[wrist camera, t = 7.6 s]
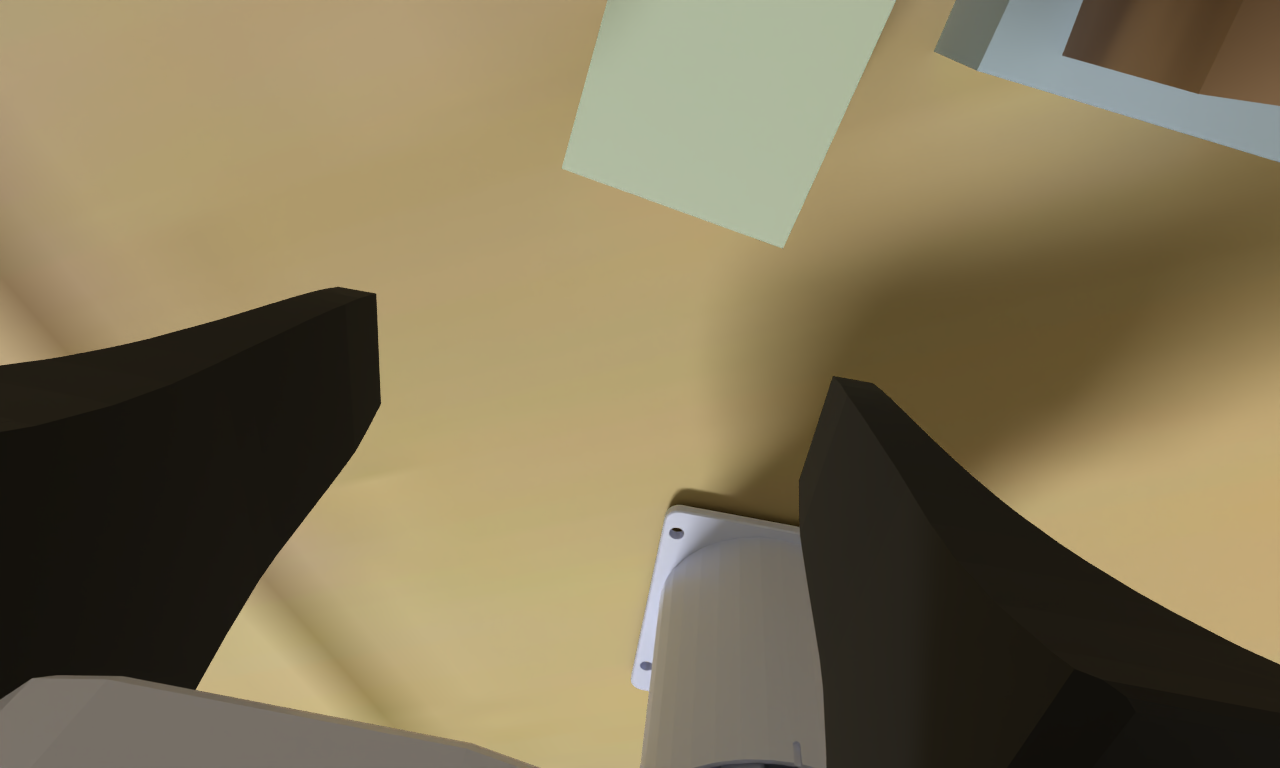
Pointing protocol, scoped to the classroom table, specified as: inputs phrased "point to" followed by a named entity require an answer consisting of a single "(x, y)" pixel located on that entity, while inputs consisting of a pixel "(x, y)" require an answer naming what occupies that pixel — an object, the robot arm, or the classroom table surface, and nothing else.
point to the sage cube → (721, 103)
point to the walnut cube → (1185, 44)
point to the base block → (1094, 73)
